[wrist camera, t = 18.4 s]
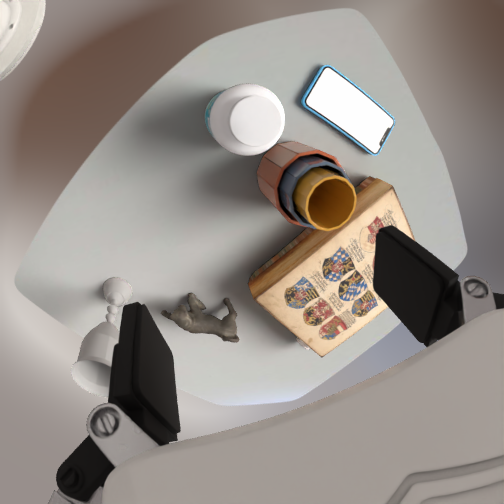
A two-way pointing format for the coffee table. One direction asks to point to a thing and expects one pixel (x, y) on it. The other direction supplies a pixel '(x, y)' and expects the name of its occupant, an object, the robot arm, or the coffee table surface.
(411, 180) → the coffee table surface
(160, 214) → the coffee table surface
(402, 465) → the robot arm
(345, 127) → the smartphone
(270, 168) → the cup stack
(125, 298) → the chalice
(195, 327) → the dog figurine
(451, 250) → the coffee table surface
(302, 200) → the ochre cup
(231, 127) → the pill bottle
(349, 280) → the book
